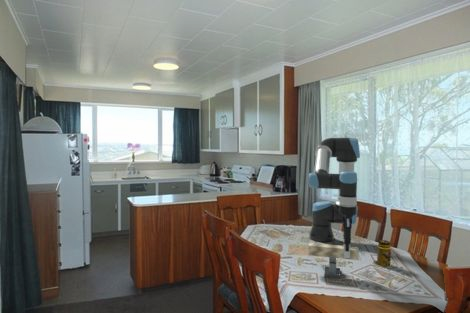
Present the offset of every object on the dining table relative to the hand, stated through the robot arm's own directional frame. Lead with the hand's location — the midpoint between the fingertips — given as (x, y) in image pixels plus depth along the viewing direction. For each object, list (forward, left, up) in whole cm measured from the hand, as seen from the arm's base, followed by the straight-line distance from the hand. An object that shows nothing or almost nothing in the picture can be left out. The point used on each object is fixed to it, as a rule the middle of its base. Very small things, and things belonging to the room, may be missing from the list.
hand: (346, 255), depth 148 cm
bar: (0, -6, -1) cm, 6 cm away
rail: (0, -6, -9) cm, 11 cm away
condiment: (-19, +18, -9) cm, 28 cm away
